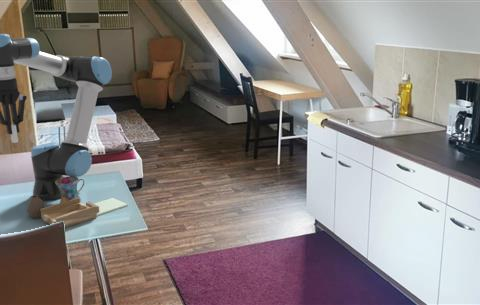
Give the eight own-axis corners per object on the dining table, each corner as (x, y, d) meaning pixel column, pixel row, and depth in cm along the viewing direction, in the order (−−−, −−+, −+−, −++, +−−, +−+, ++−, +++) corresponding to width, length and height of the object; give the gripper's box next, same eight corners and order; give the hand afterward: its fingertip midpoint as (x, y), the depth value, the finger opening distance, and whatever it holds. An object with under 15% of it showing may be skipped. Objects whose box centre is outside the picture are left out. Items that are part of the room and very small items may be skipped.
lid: (82, 210, 198) (81, 202, 197) (113, 200, 208) (112, 192, 207) (96, 217, 190) (95, 209, 189) (127, 207, 200) (127, 199, 199)
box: (41, 220, 188) (40, 209, 186) (79, 208, 199) (78, 197, 197) (58, 230, 178) (56, 218, 177) (96, 217, 189) (95, 206, 188)
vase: (28, 221, 187) (25, 200, 185) (28, 215, 193) (25, 194, 191) (47, 218, 190) (44, 197, 187) (46, 212, 196) (43, 192, 193)
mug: (64, 209, 198) (60, 185, 195) (55, 203, 204) (51, 180, 201) (91, 201, 206) (88, 177, 202) (82, 195, 212) (78, 173, 209)
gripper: (-11, 81, 164) (0, 147, 171) (27, 77, 173) (36, 140, 180) (-19, 79, 169) (-8, 143, 176) (18, 75, 178) (28, 136, 185)
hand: (15, 141), depth 178 cm, fingers closed
